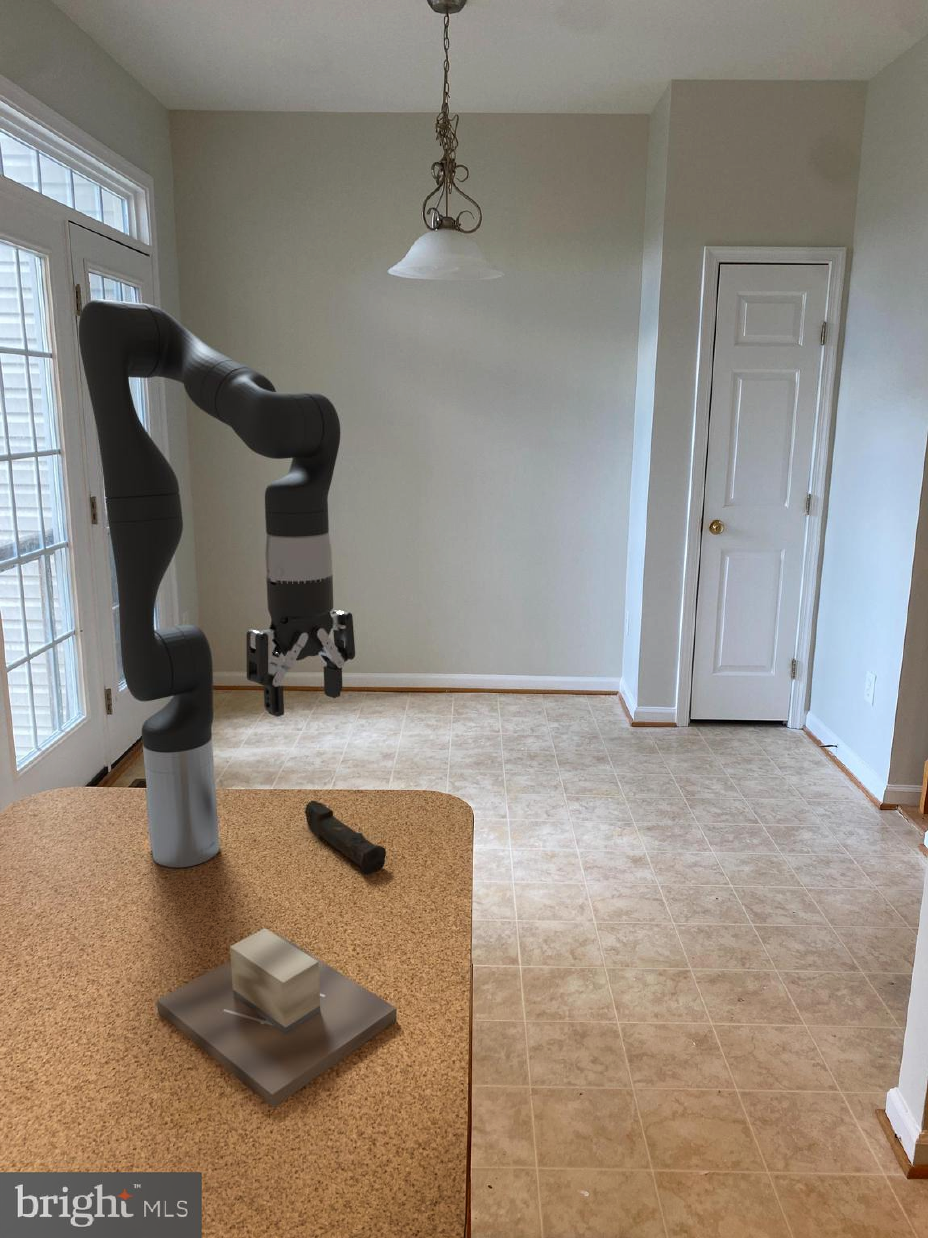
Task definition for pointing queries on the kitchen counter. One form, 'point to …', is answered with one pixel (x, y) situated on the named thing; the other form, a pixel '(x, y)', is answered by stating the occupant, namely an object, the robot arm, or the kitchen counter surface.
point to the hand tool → (344, 838)
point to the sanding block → (275, 980)
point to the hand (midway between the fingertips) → (304, 705)
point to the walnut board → (275, 1029)
